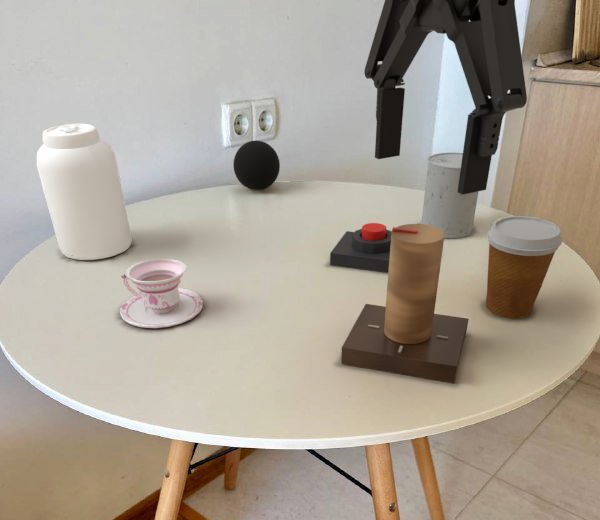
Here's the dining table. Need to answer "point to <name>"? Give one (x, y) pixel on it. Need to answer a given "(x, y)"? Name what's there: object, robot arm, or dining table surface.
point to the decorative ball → (256, 165)
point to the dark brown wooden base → (406, 347)
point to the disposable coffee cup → (518, 263)
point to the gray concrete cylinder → (447, 197)
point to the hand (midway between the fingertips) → (425, 172)
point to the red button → (374, 231)
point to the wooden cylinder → (412, 282)
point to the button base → (362, 252)
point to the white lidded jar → (83, 192)
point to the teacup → (158, 295)
